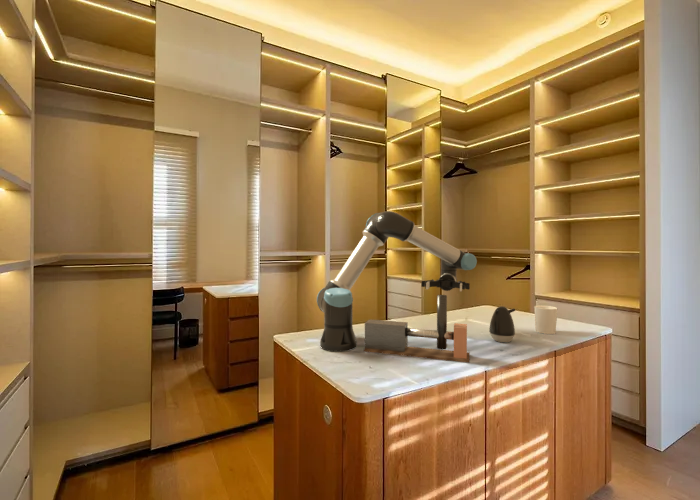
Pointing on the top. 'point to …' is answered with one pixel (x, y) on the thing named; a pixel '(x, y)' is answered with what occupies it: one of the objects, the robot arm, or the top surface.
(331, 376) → the top surface
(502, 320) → the pump dispenser
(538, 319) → the candle holder
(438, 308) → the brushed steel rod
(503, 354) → the top surface
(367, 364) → the top surface
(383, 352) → the base board
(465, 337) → the socket
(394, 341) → the box on wooden plank
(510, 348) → the top surface
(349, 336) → the robot arm
